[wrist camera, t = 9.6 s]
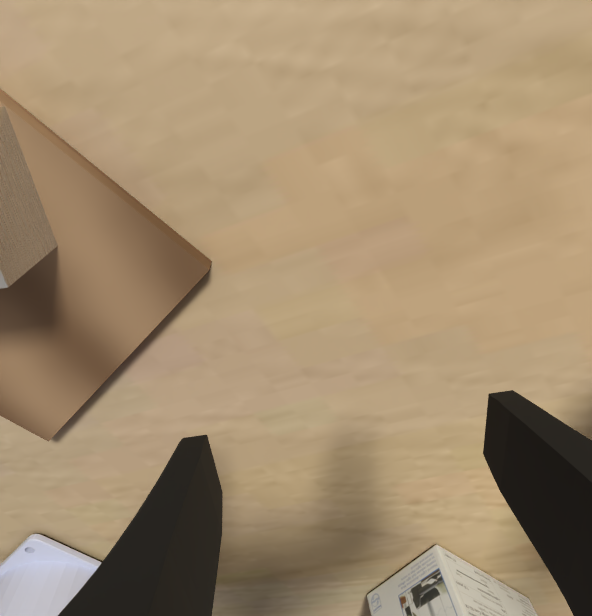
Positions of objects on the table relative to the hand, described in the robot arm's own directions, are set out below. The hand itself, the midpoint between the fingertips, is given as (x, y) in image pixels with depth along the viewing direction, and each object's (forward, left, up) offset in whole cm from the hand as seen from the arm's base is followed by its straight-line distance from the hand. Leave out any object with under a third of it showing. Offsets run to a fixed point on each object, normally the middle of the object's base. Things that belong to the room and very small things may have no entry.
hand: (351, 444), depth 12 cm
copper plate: (-8, +10, -10) cm, 16 cm away
